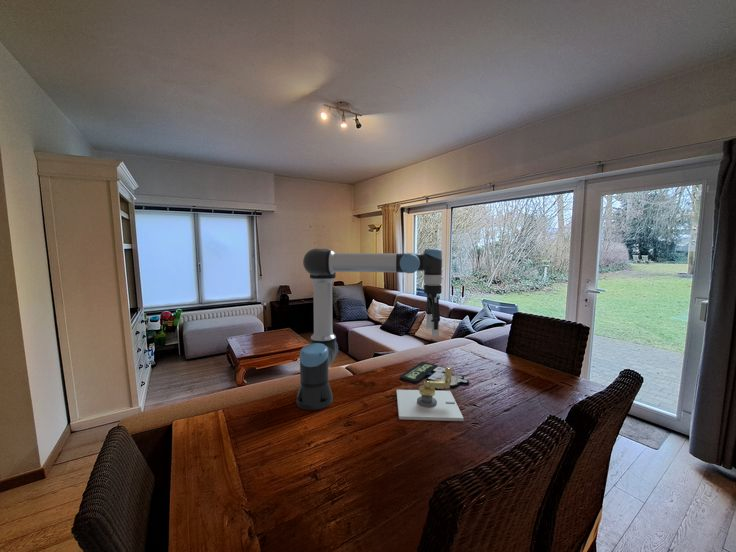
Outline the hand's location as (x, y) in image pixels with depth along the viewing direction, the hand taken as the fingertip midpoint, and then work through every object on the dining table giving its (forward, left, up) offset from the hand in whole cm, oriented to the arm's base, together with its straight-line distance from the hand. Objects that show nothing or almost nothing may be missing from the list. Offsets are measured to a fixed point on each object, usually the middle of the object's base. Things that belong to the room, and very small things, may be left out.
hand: (432, 332), depth 130 cm
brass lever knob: (0, -10, -22) cm, 25 cm away
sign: (+6, +17, -28) cm, 33 cm away
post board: (-4, -10, -28) cm, 30 cm away
